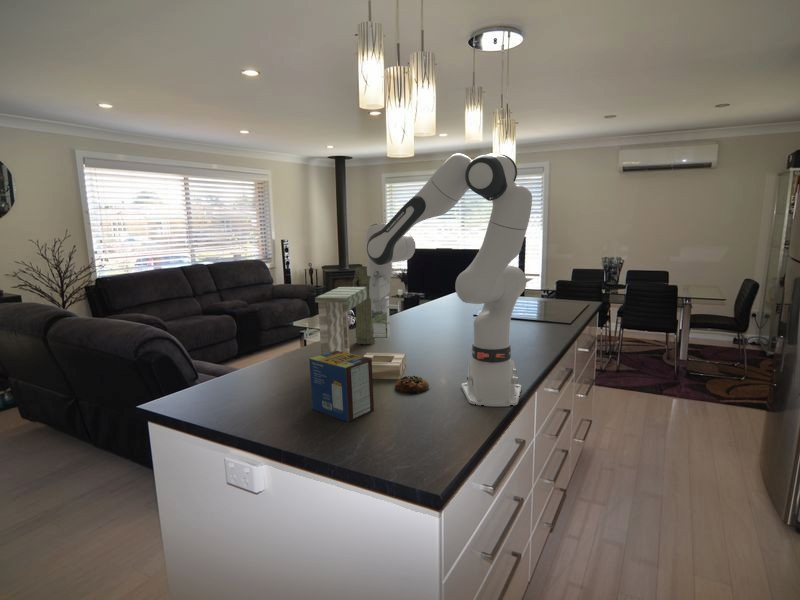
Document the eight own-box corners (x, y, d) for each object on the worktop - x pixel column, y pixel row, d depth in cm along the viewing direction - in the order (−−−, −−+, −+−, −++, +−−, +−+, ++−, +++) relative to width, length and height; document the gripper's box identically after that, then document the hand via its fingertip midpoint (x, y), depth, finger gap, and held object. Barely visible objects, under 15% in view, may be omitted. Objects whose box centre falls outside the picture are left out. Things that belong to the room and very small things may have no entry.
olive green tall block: (349, 344, 204) (346, 267, 198) (366, 338, 213) (363, 265, 208) (365, 346, 199) (362, 268, 193) (381, 341, 208) (378, 265, 203)
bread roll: (399, 396, 138) (399, 380, 138) (391, 389, 149) (390, 374, 149) (433, 393, 141) (433, 377, 141) (423, 386, 152) (422, 371, 152)
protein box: (337, 398, 138) (335, 349, 136) (374, 410, 128) (372, 357, 126) (311, 409, 130) (308, 357, 128) (348, 422, 120) (345, 367, 118)
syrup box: (390, 335, 163) (389, 295, 161) (387, 338, 157) (386, 297, 155) (374, 335, 164) (373, 295, 162) (371, 338, 158) (370, 297, 156)
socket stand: (396, 385, 148) (394, 297, 143) (319, 383, 152) (314, 297, 147) (408, 361, 175) (406, 286, 171) (342, 360, 179) (339, 286, 175)
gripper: (382, 273, 146) (384, 314, 149) (393, 267, 166) (394, 304, 168) (363, 273, 147) (365, 314, 149) (376, 267, 167) (377, 304, 169)
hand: (380, 309), depth 159 cm, fingers closed on syrup box, 6 cm apart
